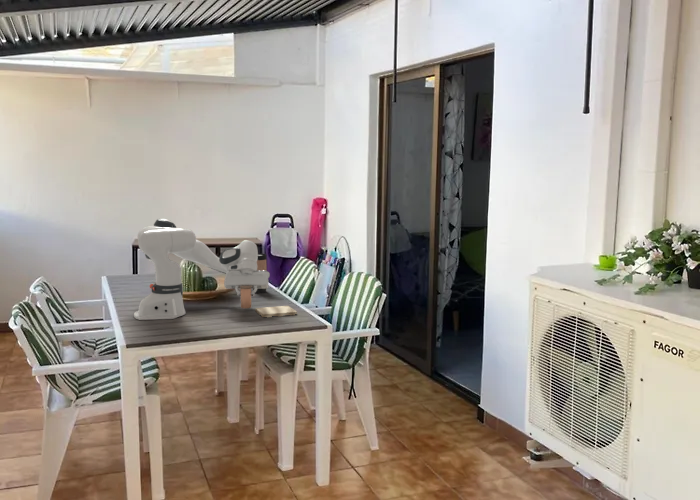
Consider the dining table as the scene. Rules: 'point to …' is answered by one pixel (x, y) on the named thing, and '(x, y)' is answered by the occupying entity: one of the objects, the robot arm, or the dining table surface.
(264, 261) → the travel mug
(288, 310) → the birch board
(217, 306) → the dining table surface
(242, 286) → the terracotta jar
